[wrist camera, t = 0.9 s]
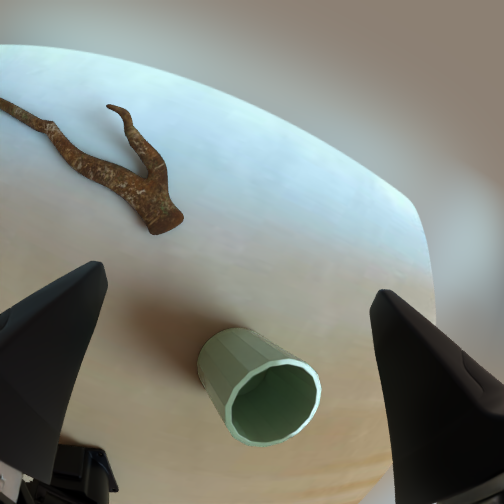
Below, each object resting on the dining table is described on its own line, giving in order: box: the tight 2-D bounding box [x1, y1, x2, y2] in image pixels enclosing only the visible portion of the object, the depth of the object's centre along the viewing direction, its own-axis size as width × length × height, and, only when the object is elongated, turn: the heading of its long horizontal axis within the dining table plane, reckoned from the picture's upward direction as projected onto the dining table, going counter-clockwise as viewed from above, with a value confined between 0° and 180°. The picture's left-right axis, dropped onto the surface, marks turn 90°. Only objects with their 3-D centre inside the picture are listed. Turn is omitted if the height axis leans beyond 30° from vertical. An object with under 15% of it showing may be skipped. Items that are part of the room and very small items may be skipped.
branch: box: [0, 98, 184, 235], centre depth 16 cm, size 25×6×3 cm, turn 59°
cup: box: [197, 328, 321, 447], centre depth 19 cm, size 7×7×8 cm
